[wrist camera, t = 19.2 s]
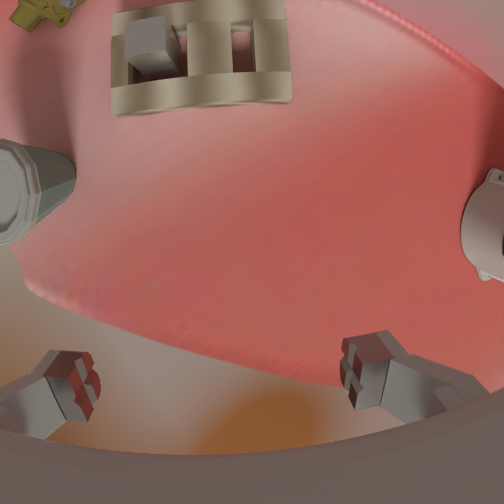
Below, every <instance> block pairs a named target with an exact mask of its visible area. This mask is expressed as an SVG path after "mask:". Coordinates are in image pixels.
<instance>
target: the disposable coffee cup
mask: <svg viewBox="0 0 504 504" xmlns="http://www.w3.org/2000/svg"><path fill="white" fill-rule="evenodd" d="M75 181H76V173H75V168H74V165H73V164H72V163H71V161H70V160H69V159H68V158H67V156H66V155H63V154H60V153H56V152H52V151H48V150H44V149H39V148H35V147H30V146H25V145H21V144H19V143H16V142H12V141H9V140H5V139H0V246H1V245H6V244H9V243H13V242H16V241H20V240H23V239H24V237H25V236H26V235H27V233H28V232H29V230H30V229H31V228H32V227H34V226H35V225H36V224H37V223H38V222H39V221H41V220H42V219H43V218H44V217H45V216H47V215H48V214H49V213H50V212H52V211H53V210H54V209H55V208H56V207H58V206H59V205H60V204H61V203H63V202H64V201H65V200H66V199H67V198H68V197H69V195H70V194H71V193H72V192H73V189H74V185H75Z"/></svg>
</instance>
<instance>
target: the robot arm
mask: <svg viewBox="0 0 504 504" xmlns="http://www.w3.org/2000/svg"><path fill="white" fill-rule="evenodd" d="M461 241H462V246H463V250H464V253H465V255H466V257H467V259H468V260H469V261H470V262H471V263H472V264H473V265H474V266H475V267H476V270H477V273H478V276H479V278H480V279H481V280H484V281H487V280H489V279H491V278H493V277H494V278H496V279H498V280H500V281H502V282H504V172H503V171H501V170H499V169H496V168H491V169H490V170H489V172H488V174H487V176H486V178H485V181H484V182H483V183H482V184H481V185H480V186H479V187H478V188H477V189H476V190H475V192H474V193H473V194H472V196H471V197H470V199H469V201H468V203H467V205H466V208H465V211H464V214H463V219H462V225H461ZM341 350H342V352H343V353H344V357H343V358H342V359H341V360H340V378H341V382H342V384H343V387H344V388H345V389H347V390H349V396H348V397H349V399H350V401H351V404H352V406H353V408H354V410H360V409H366V408H370V407H376V406H380V407H381V408H383V409H384V410H386V411H387V412H389V413H390V414H392V415H393V416H395V417H396V418H398V419H400V420H401V421H403V422H404V423H406V424H405V425H402V426H398V427H395V428H392V429H388V430H384V431H380V432H376V433H372V434H368V435H363V436H359V437H355V438H350V439H345V440H340V441H335V442H329V443H324V444H318V445H312V446H306V447H298V448H290V449H282V450H274V451H264V452H253V453H237V454H216V455H167V454H145V453H132V452H121V451H111V450H102V449H95V448H88V447H81V446H75V445H69V444H63V443H59V442H53V441H49V440H44V439H46V438H47V437H48V436H49V435H50V434H52V433H53V432H54V431H55V430H56V429H58V428H59V427H60V426H61V425H62V424H64V423H65V422H66V420H69V421H79V422H88V421H89V419H90V416H91V414H92V412H93V410H94V408H93V406H92V404H93V403H94V402H96V401H97V400H98V398H99V396H100V390H101V384H100V379H99V376H98V374H97V373H96V372H95V371H94V370H93V369H92V366H93V364H94V362H93V359H92V357H91V355H90V354H89V353H88V352H79V351H62V350H50V351H48V352H47V354H46V355H45V356H44V357H43V359H42V360H41V361H40V362H39V364H38V365H37V366H36V368H35V369H34V370H33V371H32V373H31V374H30V375H27V374H26V375H24V376H22V377H20V378H19V379H17V380H14V381H12V382H10V383H8V384H6V385H4V386H2V387H0V504H504V387H503V388H501V389H499V390H497V391H495V392H492V393H489V392H488V391H487V390H486V389H485V388H484V387H483V386H482V384H481V383H480V382H479V381H478V380H477V379H476V378H475V377H474V376H473V375H470V374H467V373H464V372H462V371H459V370H456V369H453V368H450V367H447V366H445V365H442V364H439V363H436V362H433V361H431V360H428V359H425V358H422V357H420V356H417V355H414V354H412V355H409V354H408V353H407V352H406V350H405V349H404V348H403V347H402V346H401V344H400V343H399V342H398V341H397V340H396V339H395V337H394V336H393V335H392V334H391V333H390V332H389V331H387V330H384V331H380V332H375V333H370V334H365V335H359V336H354V337H348V338H343V341H342V348H341Z"/></svg>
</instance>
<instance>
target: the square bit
mask: <svg viewBox="0 0 504 504" xmlns="http://www.w3.org/2000/svg"><path fill="white" fill-rule="evenodd" d="M124 58H125V59H126V60H128V61H129V62H130V63H131V64H132V65H133V66H134V67H135V68H136V69H138V70H139V71H140V72H141V73H142V74H143V75H144V76H145V77H146V78H147V79H148V80H150V79H156V78H163V77H171V76H179V75H181V69H180V45H179V43H178V41H177V39H176V37H175V34H174V32H173V30H172V28H171V26H170V24H169V21H168V19H167V17H166V15H164V16H158V17H152V18H146V19H140V20H135V21H130V22H126V23H125V49H124Z"/></svg>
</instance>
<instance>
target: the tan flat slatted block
mask: <svg viewBox="0 0 504 504" xmlns="http://www.w3.org/2000/svg"><path fill="white" fill-rule="evenodd" d="M164 15H166V17H167V19H168V21H169V24H170V26H171V28H172V30H173V32H174V34H175V37H179V36H187V59H188V76H187V77H178V78H170V79H163V80H156V81H149V82H143V83H137V69H136V68H135V67H134V66H133V65H132V64H131V63H130V62H129V61H128V60H126V59H125V58H124V49H125V23H126V22H130V21H135V20H140V19H146V18H152V17H158V16H164ZM242 31H251V45H252V62H253V72H237V73H233V63H232V43H231V32H242ZM291 99H292V84H291V71H290V58H289V46H288V34H287V23H286V13H285V3H284V0H195V1H186V2H178V3H170V4H164V5H157V6H152V7H146V8H141V9H136V10H131V11H126V12H122V13H117V14H113V22H112V42H111V115H113V116H116V117H119V118H122V119H123V118H128V117H135V116H141V115H148V114H155V113H162V112H170V111H179V110H188V109H198V108H209V107H223V106H239V105H264V104H287V103H288V102H289V101H290V100H291Z"/></svg>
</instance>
